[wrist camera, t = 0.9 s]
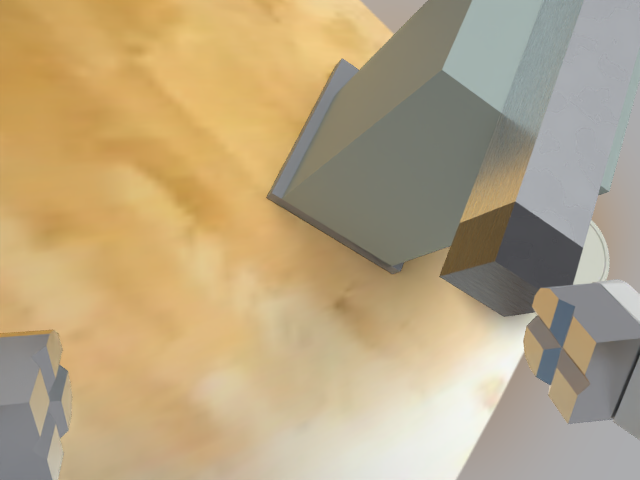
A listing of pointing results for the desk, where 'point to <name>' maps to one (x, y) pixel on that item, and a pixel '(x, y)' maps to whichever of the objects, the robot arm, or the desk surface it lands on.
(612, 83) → the lever bar
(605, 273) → the coffee cup
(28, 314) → the desk surface
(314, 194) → the press column
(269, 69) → the desk surface
